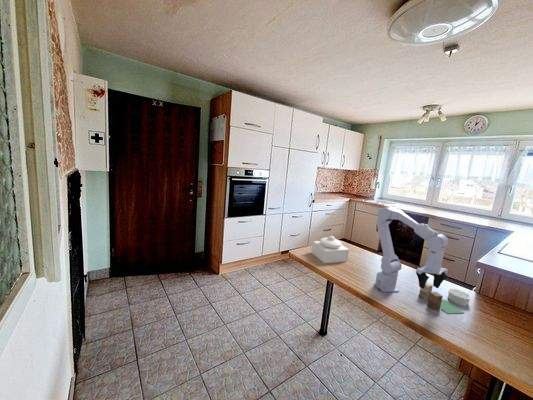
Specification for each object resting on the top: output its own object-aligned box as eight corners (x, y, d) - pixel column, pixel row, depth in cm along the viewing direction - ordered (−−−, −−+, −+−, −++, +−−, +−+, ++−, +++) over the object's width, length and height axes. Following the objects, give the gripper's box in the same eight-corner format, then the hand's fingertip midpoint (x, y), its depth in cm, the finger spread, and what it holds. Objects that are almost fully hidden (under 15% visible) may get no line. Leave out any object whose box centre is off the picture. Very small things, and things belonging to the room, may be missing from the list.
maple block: (425, 299, 117) (428, 286, 115) (418, 295, 120) (421, 282, 119) (430, 297, 118) (432, 285, 117) (423, 294, 121) (425, 281, 120)
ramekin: (456, 295, 122) (458, 288, 121) (474, 306, 113) (476, 298, 113) (442, 296, 120) (444, 288, 120) (459, 307, 112) (460, 299, 111)
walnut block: (433, 309, 108) (436, 296, 107) (427, 305, 112) (429, 291, 110) (439, 309, 109) (442, 296, 108) (433, 304, 112) (436, 291, 111)
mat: (447, 313, 106) (447, 313, 106) (429, 300, 116) (429, 300, 115) (464, 313, 107) (464, 312, 107) (444, 300, 117) (445, 299, 117)
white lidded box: (311, 252, 166) (313, 231, 163) (332, 251, 171) (335, 230, 169) (324, 263, 150) (326, 240, 147) (347, 261, 155) (350, 239, 152)
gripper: (427, 264, 100) (422, 292, 103) (456, 263, 103) (449, 291, 105) (415, 257, 107) (409, 284, 110) (441, 257, 110) (436, 283, 112)
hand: (428, 287), depth 108 cm, fingers open, 7 cm apart
